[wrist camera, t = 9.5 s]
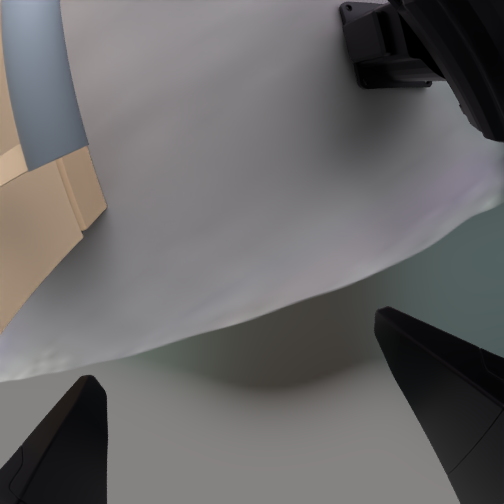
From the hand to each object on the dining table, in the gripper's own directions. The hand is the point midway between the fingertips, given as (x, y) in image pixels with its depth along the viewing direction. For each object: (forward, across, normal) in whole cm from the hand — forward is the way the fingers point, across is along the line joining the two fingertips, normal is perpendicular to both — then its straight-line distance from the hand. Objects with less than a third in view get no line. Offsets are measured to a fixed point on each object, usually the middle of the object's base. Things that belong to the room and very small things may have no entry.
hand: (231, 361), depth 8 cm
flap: (+4, +8, -11) cm, 15 cm away
